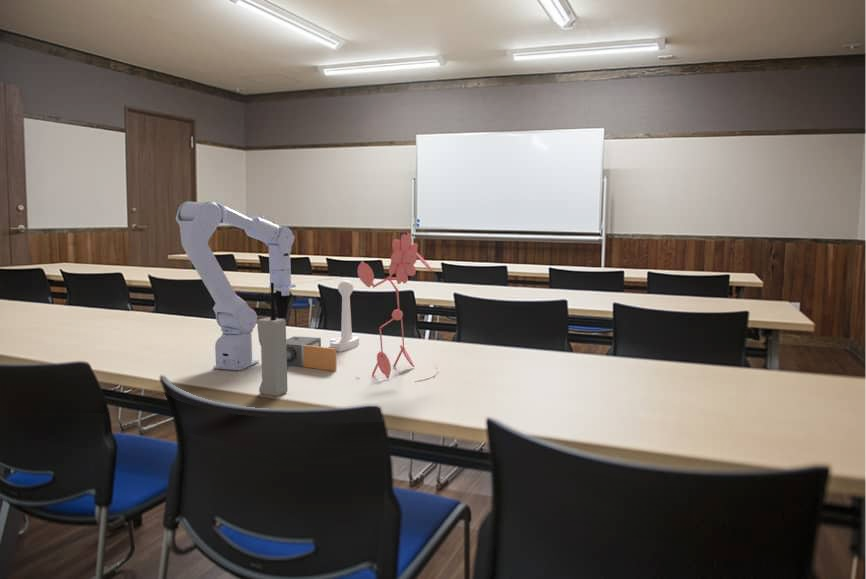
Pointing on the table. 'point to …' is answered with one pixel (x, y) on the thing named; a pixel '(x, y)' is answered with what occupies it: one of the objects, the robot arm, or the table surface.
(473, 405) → the table surface
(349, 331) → the joystick
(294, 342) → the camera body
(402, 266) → the figurine
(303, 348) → the side door
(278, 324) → the vintage mobile phone
